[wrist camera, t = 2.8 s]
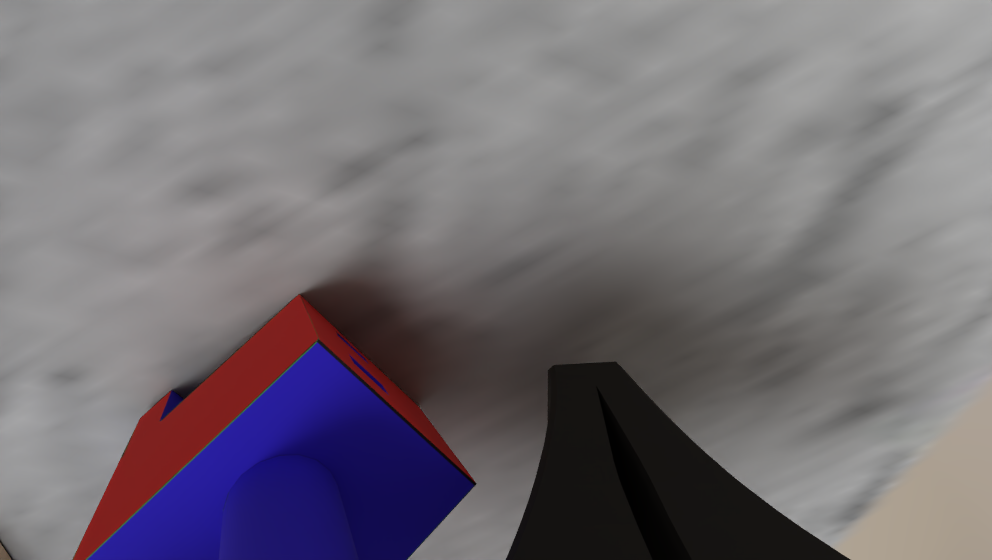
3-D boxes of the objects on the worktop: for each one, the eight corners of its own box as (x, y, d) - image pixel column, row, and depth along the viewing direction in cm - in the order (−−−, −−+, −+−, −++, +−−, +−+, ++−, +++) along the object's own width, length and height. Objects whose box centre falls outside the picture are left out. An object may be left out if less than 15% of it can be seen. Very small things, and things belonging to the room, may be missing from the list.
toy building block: (398, 380, 14) (565, 601, 6) (267, 511, 13) (288, 933, 6) (293, 280, 12) (352, 416, 5) (138, 419, 11) (-56, 823, 4)
